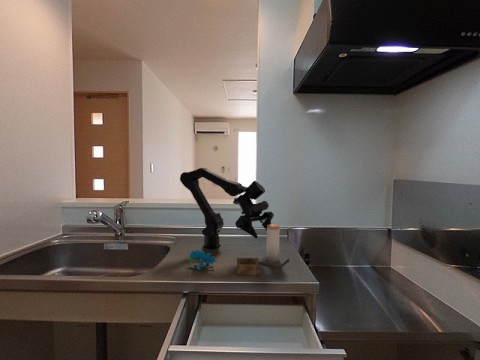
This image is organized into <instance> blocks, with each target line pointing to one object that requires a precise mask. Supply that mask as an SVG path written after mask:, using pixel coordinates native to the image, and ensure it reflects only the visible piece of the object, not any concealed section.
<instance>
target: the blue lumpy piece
mask: <svg viewBox="0 0 480 360" xmlns="http://www.w3.org/2000/svg"><path fill="white" fill-rule="evenodd" d="M215 258H216V257H215V256H214V255H211V253H209V252H207V253H205V250H201V252H200V250H198V249H197V250H191V252H190V253H189V255H188V257H187V260H189V261H188V262H189V265H188V268H189V269H190V268H191V267H192V264H198V266H197V271H201V268H202V265H204V264H205V265H210V264H211V265H213V264H214V263H216V259H215Z"/></svg>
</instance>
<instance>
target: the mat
mask: <svg viewBox="0 0 480 360" xmlns="http://www.w3.org/2000/svg"><path fill="white" fill-rule="evenodd" d="M289 259H290V258H289V257H284V256H280V255H279V261H276V262H271V261H268V260H267V253H266V254H265V255H263V256H261V257H260V258H258V260H259V265H265V266H268V267H269V266H270V267H273V268H279V269H280V268H281V267H283V266H284V265H285V264H287V262H289Z"/></svg>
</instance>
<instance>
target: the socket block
mask: <svg viewBox="0 0 480 360" xmlns="http://www.w3.org/2000/svg"><path fill="white" fill-rule="evenodd" d="M235 268H236V274H235V275H236V276H260V264H259V258H258V257H236V267H235Z"/></svg>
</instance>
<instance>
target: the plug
mask: <svg viewBox="0 0 480 360" xmlns="http://www.w3.org/2000/svg"><path fill="white" fill-rule="evenodd" d="M280 226H281V225H279V224H276V223H275V224H272V223H271V224H269V225H267V230H266V254H267V260H268V261H271V262H276V261H279V256H280V231H281V230H280V229H281V227H280Z"/></svg>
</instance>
